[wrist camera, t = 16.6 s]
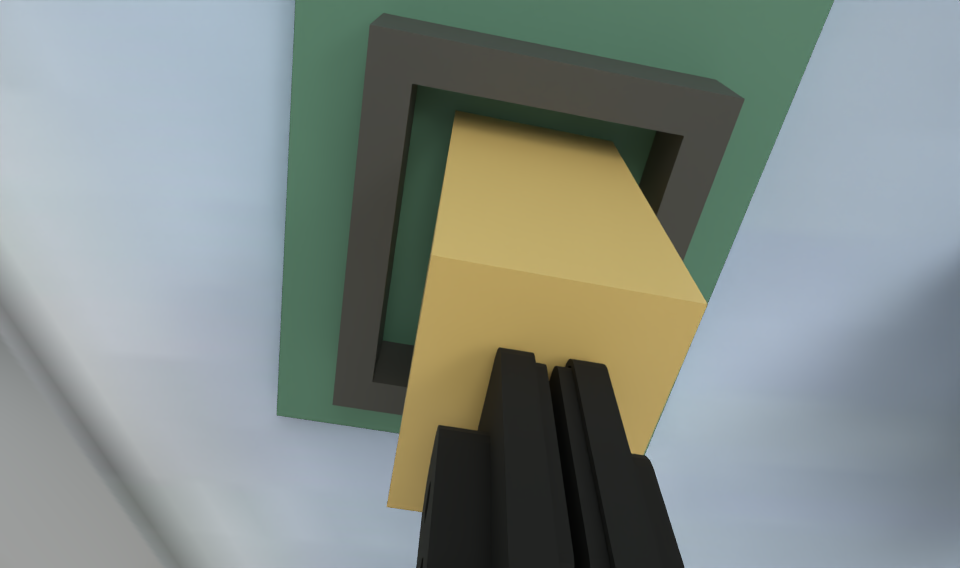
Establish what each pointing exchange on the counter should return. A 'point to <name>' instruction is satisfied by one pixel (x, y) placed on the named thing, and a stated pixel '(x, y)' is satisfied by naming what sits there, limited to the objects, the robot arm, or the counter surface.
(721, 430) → the counter surface
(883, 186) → the counter surface
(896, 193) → the counter surface
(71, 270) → the counter surface
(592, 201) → the keyed plug
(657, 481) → the robot arm
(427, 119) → the header board
